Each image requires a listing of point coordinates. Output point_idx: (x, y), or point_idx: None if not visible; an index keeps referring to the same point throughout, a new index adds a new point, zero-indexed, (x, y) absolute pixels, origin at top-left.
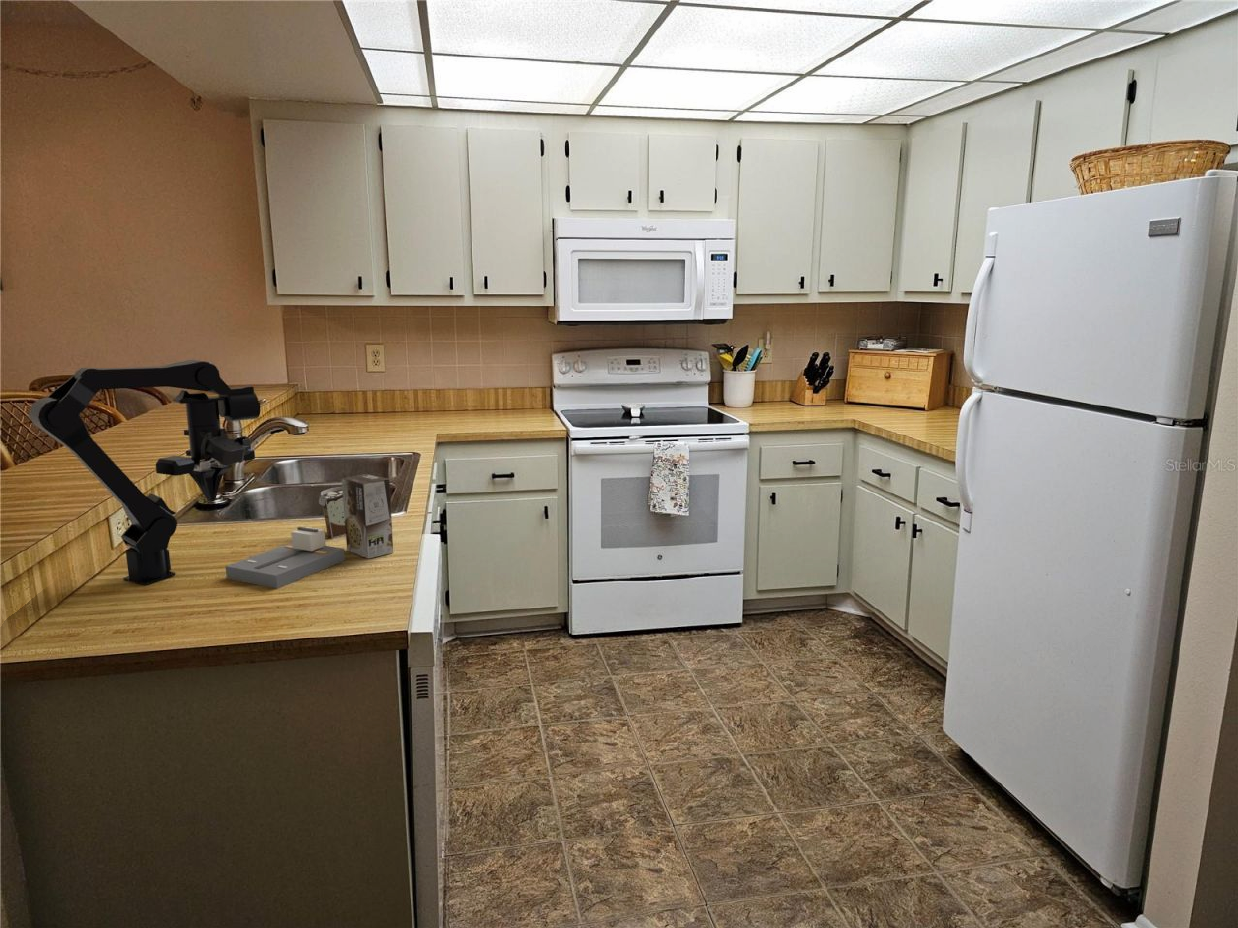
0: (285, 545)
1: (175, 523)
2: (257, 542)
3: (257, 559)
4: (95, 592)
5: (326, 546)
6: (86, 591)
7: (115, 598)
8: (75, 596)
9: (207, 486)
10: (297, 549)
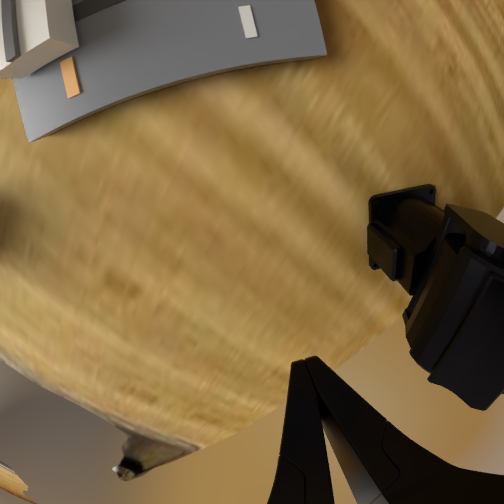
0: (69, 116)
1: (469, 247)
2: (97, 299)
3: (220, 28)
4: None
5: None
6: None
7: (478, 164)
8: None
9: (390, 426)
10: None
